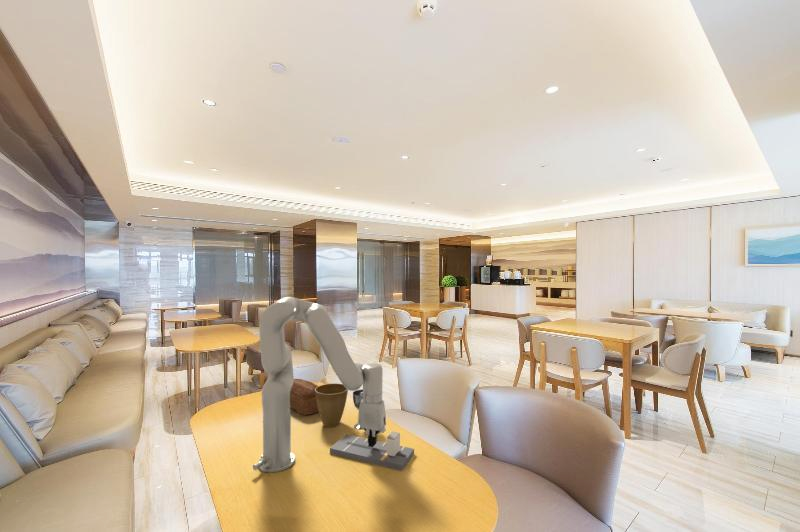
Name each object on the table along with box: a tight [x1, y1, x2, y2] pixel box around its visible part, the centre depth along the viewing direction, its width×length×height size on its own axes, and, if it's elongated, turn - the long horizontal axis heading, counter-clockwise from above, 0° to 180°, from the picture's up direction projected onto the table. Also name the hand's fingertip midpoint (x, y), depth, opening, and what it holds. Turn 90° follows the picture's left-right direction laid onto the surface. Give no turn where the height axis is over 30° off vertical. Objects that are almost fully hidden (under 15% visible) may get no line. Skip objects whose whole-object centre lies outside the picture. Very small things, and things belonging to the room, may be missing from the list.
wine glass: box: [352, 388, 364, 431], centre depth 157 cm, size 8×8×15 cm
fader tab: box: [386, 431, 401, 456], centre depth 130 cm, size 5×3×6 cm, turn 157°
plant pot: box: [315, 383, 349, 428], centre depth 160 cm, size 15×15×16 cm
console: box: [329, 434, 415, 472], centre depth 134 cm, size 12×30×2 cm, turn 67°
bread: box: [290, 378, 319, 416], centre depth 179 cm, size 14×28×12 cm, turn 45°
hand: (372, 445), depth 133 cm, fingers closed
